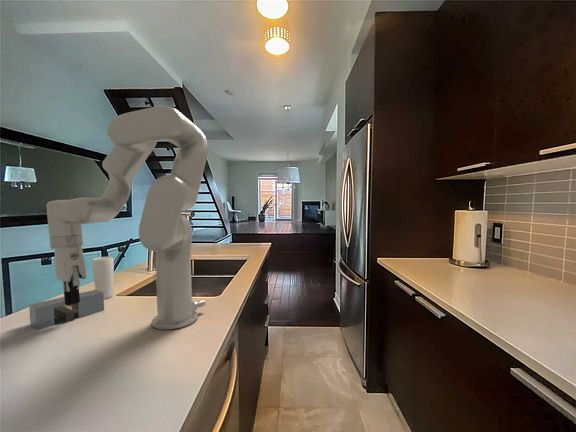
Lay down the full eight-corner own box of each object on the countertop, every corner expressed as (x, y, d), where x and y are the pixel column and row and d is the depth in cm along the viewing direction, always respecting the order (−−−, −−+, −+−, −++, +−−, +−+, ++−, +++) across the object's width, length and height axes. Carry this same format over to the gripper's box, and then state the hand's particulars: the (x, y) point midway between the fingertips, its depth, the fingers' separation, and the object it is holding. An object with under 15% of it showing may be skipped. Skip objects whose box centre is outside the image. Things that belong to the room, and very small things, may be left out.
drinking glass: (112, 298, 103) (111, 258, 102) (91, 301, 101) (89, 260, 100) (116, 293, 109) (115, 256, 109) (96, 296, 107) (94, 257, 106)
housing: (96, 306, 95) (95, 289, 95) (104, 310, 91) (103, 292, 91) (30, 324, 81) (29, 304, 81) (36, 329, 78) (35, 308, 77)
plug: (56, 309, 93) (55, 297, 93) (78, 319, 85) (77, 306, 84) (41, 313, 90) (40, 301, 90) (62, 324, 81) (61, 310, 81)
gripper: (91, 240, 80) (97, 303, 81) (72, 239, 88) (78, 296, 89) (59, 244, 74) (66, 312, 74) (42, 243, 82) (48, 304, 83)
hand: (72, 303), depth 82 cm, fingers closed
